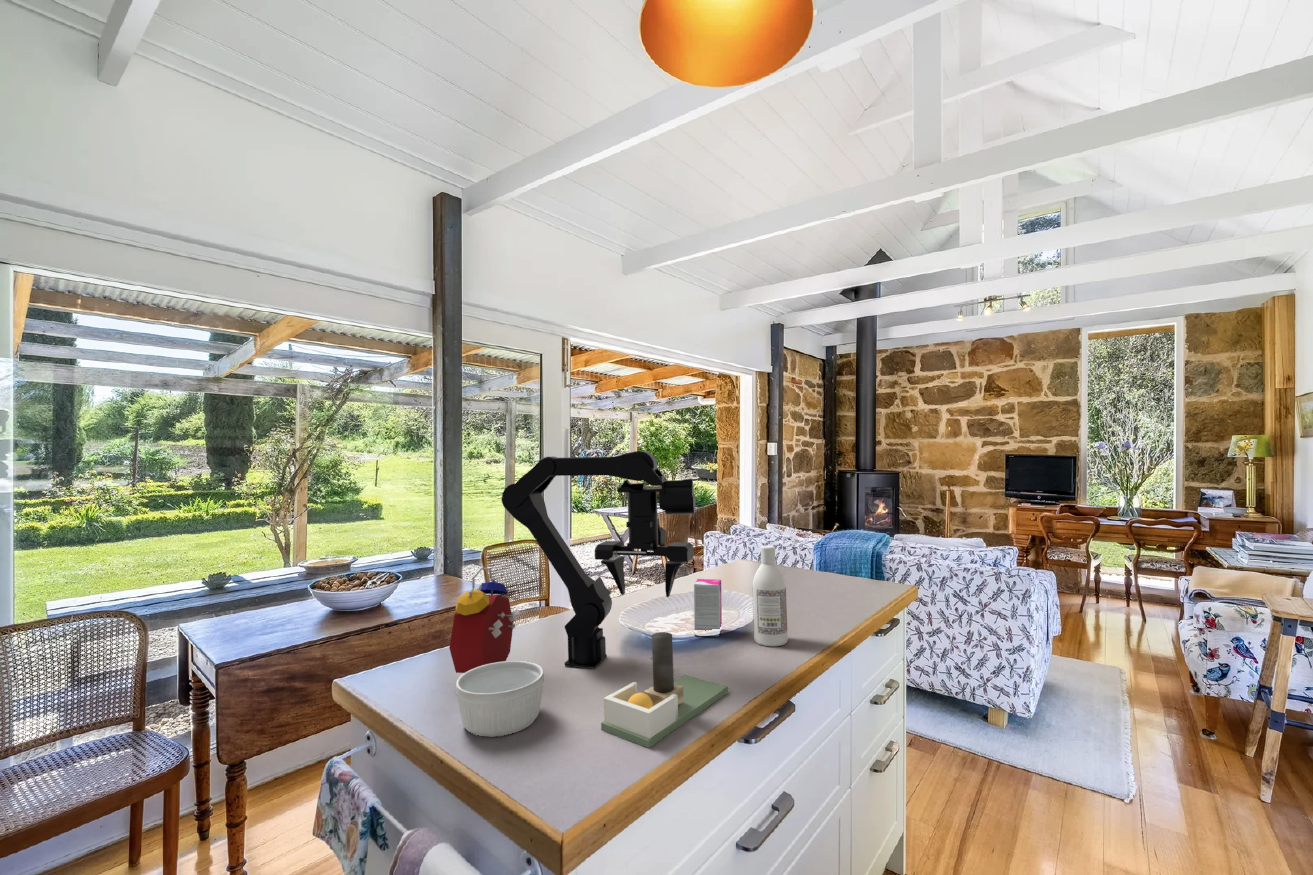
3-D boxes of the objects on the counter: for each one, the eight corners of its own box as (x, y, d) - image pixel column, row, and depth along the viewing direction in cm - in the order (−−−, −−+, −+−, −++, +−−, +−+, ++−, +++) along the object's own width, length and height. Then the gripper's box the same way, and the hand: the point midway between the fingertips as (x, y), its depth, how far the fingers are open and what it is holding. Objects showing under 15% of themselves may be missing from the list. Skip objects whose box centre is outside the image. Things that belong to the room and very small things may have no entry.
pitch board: (601, 729, 83) (601, 722, 83) (684, 679, 100) (684, 674, 100) (648, 747, 77) (648, 740, 77) (728, 691, 94) (728, 685, 94)
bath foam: (793, 645, 115) (790, 548, 116) (762, 648, 114) (759, 550, 114) (779, 634, 122) (775, 543, 123) (749, 637, 121) (746, 545, 121)
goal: (603, 721, 83) (603, 697, 83) (634, 703, 89) (633, 681, 89) (650, 738, 78) (649, 713, 78) (679, 718, 83) (678, 695, 83)
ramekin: (475, 702, 93) (474, 660, 94) (553, 700, 93) (552, 658, 93) (442, 743, 80) (441, 694, 80) (533, 742, 80) (531, 693, 80)
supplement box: (720, 637, 121) (719, 584, 122) (693, 636, 123) (692, 584, 123) (723, 629, 127) (721, 578, 127) (697, 628, 128) (695, 578, 129)
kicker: (644, 706, 87) (642, 637, 87) (663, 695, 91) (661, 628, 91) (664, 713, 84) (662, 642, 84) (683, 701, 88) (681, 633, 88)
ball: (627, 688, 83) (644, 685, 86) (617, 713, 83) (634, 709, 86) (645, 705, 80) (662, 701, 83) (635, 730, 80) (652, 725, 83)
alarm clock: (485, 658, 113) (483, 559, 114) (526, 659, 112) (523, 559, 112) (449, 689, 98) (446, 576, 99) (495, 691, 97) (493, 576, 98)
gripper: (698, 510, 114) (701, 587, 113) (613, 510, 119) (615, 583, 119) (685, 517, 103) (688, 602, 103) (592, 516, 109) (594, 597, 108)
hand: (645, 595), depth 108 cm, fingers open, 9 cm apart
